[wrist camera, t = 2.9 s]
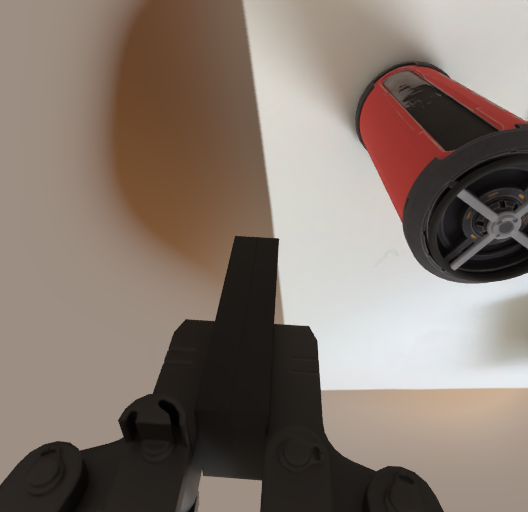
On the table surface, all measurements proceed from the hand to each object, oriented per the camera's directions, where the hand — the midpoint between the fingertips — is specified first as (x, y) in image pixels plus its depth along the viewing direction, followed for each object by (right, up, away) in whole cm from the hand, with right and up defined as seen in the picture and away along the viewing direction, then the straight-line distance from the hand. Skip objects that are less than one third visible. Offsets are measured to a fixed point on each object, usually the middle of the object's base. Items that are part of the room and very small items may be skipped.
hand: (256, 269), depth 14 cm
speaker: (+12, +12, +17) cm, 24 cm away
